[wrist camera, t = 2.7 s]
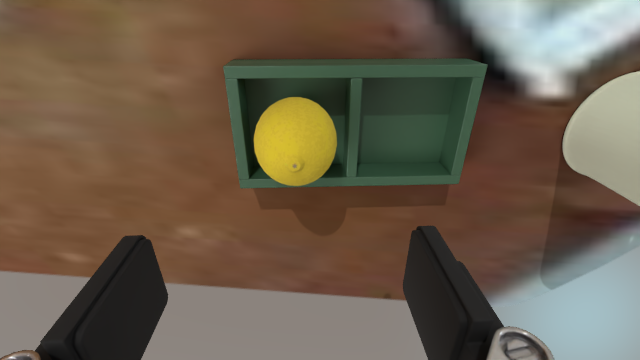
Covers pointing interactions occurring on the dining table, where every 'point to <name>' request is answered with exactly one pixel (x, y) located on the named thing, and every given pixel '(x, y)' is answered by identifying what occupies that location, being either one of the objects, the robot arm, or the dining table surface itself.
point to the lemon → (295, 141)
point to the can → (608, 136)
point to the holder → (364, 115)
